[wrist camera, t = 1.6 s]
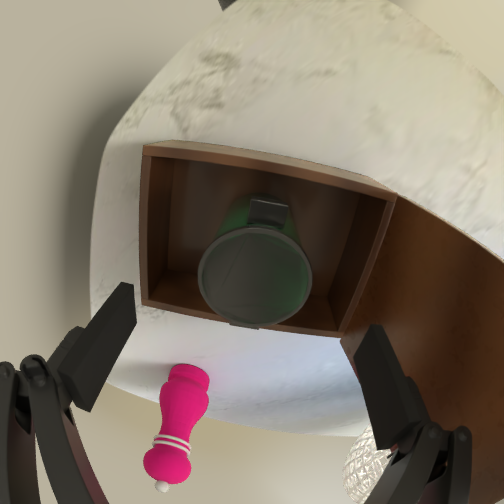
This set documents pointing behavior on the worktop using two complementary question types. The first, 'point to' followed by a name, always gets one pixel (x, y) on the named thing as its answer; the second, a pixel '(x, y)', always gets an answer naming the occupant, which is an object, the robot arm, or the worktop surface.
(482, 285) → the lid
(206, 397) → the pepper mill
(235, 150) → the chest
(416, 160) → the worktop surface
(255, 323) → the green pot
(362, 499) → the heart
